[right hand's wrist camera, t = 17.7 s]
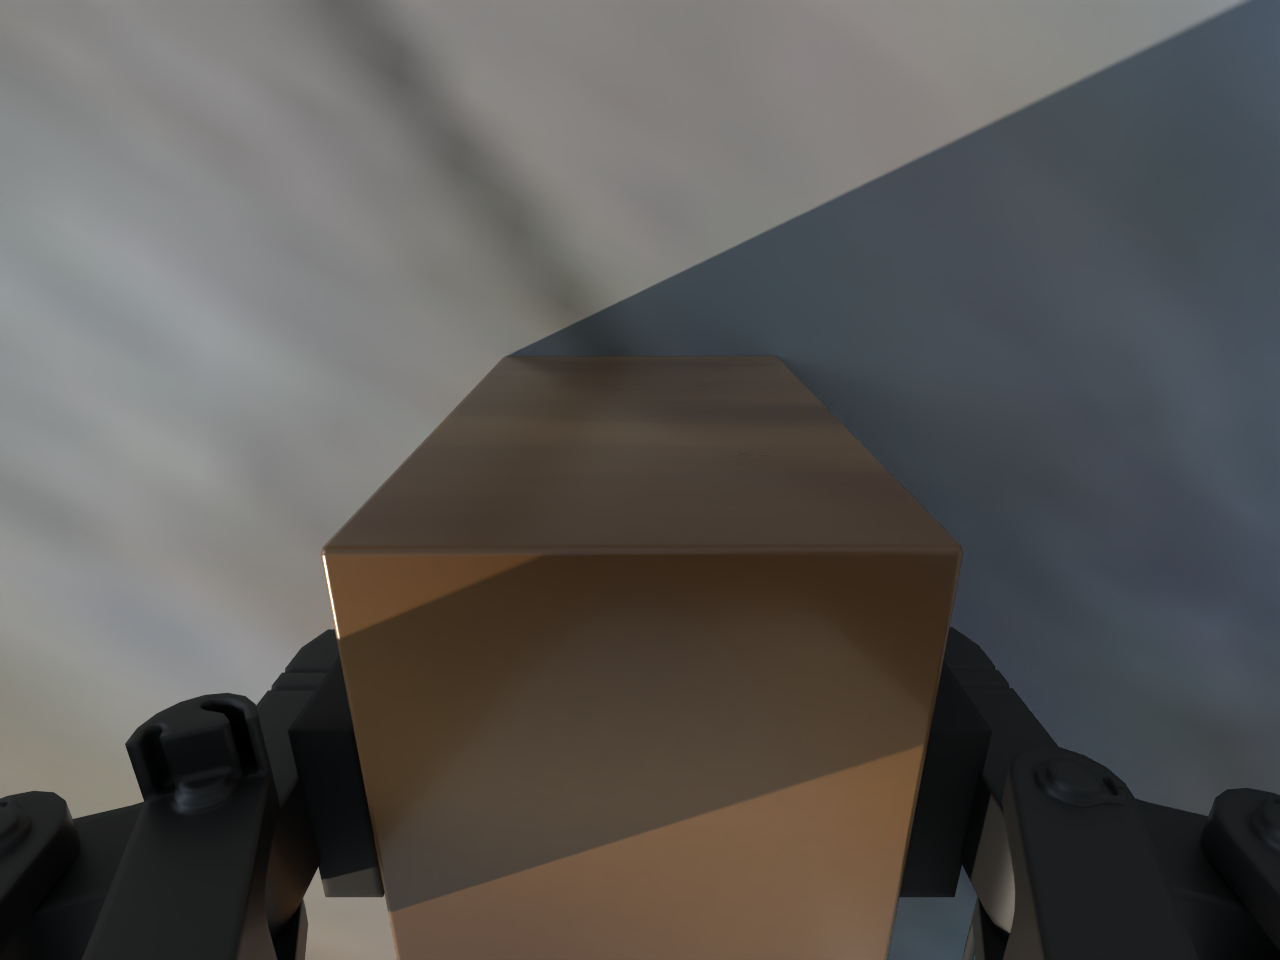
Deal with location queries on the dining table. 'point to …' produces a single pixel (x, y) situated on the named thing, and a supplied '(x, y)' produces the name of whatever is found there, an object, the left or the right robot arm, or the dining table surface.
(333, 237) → the dining table surface
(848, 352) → the dining table surface
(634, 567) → the box
